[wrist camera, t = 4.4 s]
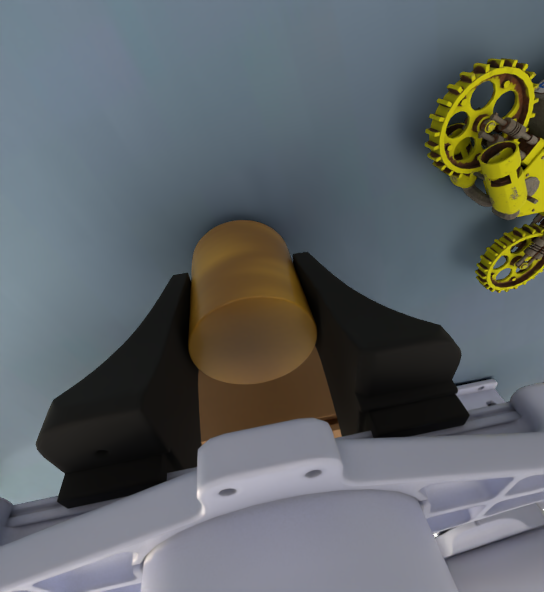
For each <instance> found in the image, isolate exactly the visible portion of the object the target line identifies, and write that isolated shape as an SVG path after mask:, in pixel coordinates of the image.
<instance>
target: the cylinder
mask: <svg viewBox="0 0 544 592" xmlns="http://www.w3.org/2000/svg"><path fill="white" fill-rule="evenodd" d="M316 340H317V327H316V323H315V320H314V318H313V315H312V312H311V310H310V307H309V304H308V302H307V299H306V296H305V294H304V291H303V288H302V286H301V283H300V280H299V277H298V275H297V272H296V269H295V267H294V264H293V261H292V259H291V256H290V253H289V251H288V248H287V245H286V243H285V241H284V240H283V238H282V237H281V236H280V235H279V234H278V233H277V232H276V231H275V230H273V229H272V228H270V227H269V226H267V225H265V224H262V223H259V222H256V221H250V220H236V221H230V222H226V223H223V224H220V225H218V226H216V227H214V228H213V229H211V230H210V231H208V232H207V233H206V234H205V235H204V236H203V237H202V238H201V239H200V241H199V242H198V244H197V245H196V248H195V250H194V253H193V257H192V273H191V294H190V314H189V335H188V350H189V354H190V357H191V359H192V361H193V363H194V364H195V365H196V367H197V368H198V369H199V370H200V371H202V372H203V373H204V374H206V375H207V376H209V377H211V378H213V379H216V380H219V381H222V382H226V383H231V384H257V383H263V382H267V381H271V380H274V379H277V378H279V377H282V376H284V375H286V374H288V373H290V372H291V371H293V370H294V369H296V368H297V367H299V366H300V365H301V364H302V363H303V362H304V361H305V360H306V359H307V358H308V357H309V355H310V354H311V352H312V351H313V349H314V346H315V344H316Z"/></svg>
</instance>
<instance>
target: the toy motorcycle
mask: <svg viewBox="0 0 544 592" xmlns="http://www.w3.org/2000/svg"><path fill="white" fill-rule="evenodd" d="M517 62H518V60H513V59H503V58H501V59H492V58H491V59H488V61H487V64H482V63H476V64H474V66H473V71H472V72H470V73H468V72H462V73H460V74H459V75H460V80H459V81H458V82H457V83H455V85H453V84H449V85H448V86H447V89H448V90H449V91H448V93H447V94H446V95H445V96H444V98H443V99H439V98H438V100H437V101H436V102H437V103H439V104H440V105H439V106H438V108H437V110H436V112H435V114H430V116H429V118H431V119H433V120H432V123H431V128H428V129H426V131H425V133H427V134H429V141H428V142H425V146H426V147H428V148H430V149H431V152H430V153H428V154H427V156H428V157H429V158H430V159H432V160H434V162H433V163H432V164H433V165H434V166H435V167H437V168H439V169H440V170H441V171H442V172H444V173H446V174H448V175H449V177H450V179H451V181H452V183H453V184H454V185H456V186H459V187H461V188H463V190H464V192H465V193H466V195H468V196H469V197H470V198H471V199H472V200H474V201H475V202H476V203H478V204H479V205H481V206H485V207H492V212H493V213H494V214H495V215H497V216H498V217H501V218H503V219H505V220H511V219H515V218H516V217H520V216H525V215H530V214H535V213H538V215H537V216H536V217H535V218H534V219H533V220H534V221H533V222H532V223H531V224H530V225H529V226H528V225H527V224H524V225H523V227H522V228H517V227H515V228H513V231H511V232H509V233H506V232H505V233H503V235H504V236H503V237H501V238H500V239H498V240H497V239H495V240H494V241H495V243H494V244H492V246H491V247H487V248H486V249H487V251H486V252H485V254H484V255H481V256H480V258H481V261H480V263H477V266H478V267H479V269H478V270H476V271H475V273H476V274H477V275H478V276H477V277H476V278H477V279H478V280H479V282H480V283H481V284H482V285H483V286H484V287H485V288H486V289H487V290H488V289H489V290H490V291H491V292H493V291H494V290H496V291H497V292H498V293H500V292H501V291H502V290H504V291H506V292H508V291H509V289H512V288H514V289H517V286H520V285H522V284H523V285H525V284H526V282H527V281H529V280H530V279H534V278H535V277H534V276H536V275H537V274H538V273H539V272H542V271H543V270H542V269H543V268H544V219H543V217H544V79H543V80H542V81H540V82H539V83H538V84H535V83H532V81H531V79H532V78H533V77H534V76H535V75H536V74H535V72H529V71H525V70H526V69H527V67H528V66H529V65H527V64H524V63H517ZM484 81H490V82H491V83H493V89H494V91H493V94H492V97H491V99H490V100H489V102H488V103H487V104H486V105H485V106H484V107H483V108H478V109H475V110H473V109H472V108H471V104H470V100H471V96H472V93H473V92H474V90H475V89H476V87H477V86H478V85H480V84H481V83H483V82H484ZM509 90H511V91H513V92H514V93H515V101H514V105H513V107H512V109H511V110H510V111H509V112H508V113H507V115H506V116H504V117H502V118H501V117H499V116H498V113H495V114H494V113H493V107H494V105H495V103H496V101H497V99H498V98H499V97H500V96H501V95H502V94H503V93H505V92H507V91H509ZM460 111H464V112H466V114H467V117H466V119H465V124H464V123H456V124H453V125H450V126H449V127H447V125H448V122H449V120H450V118H451V117H452V116H453V115H454V114H455V113H458V112H460ZM446 127H447V128H446ZM492 130H493V131H495V132H497V133H501V132H502V134H501V135H499V134H491V133H489V132H491V131H492ZM470 137H471V139H472V140H474V142H475V146H474V148H473V147H472V144H471V141H470ZM482 145H483V146H485V147H487V149H485V150H484V149H483V148H482ZM477 177H479V178H480V179H482V180H483V182H484V186H485V189H486V193H487V194H485V193H483V192H482V191H481V190H480V189H478V188H477V187H476V185H475V184H474V183H475V180H476V179H477ZM542 219H543V220H542ZM541 220H542V221H541ZM540 221H541V222H540ZM537 222H538V223H539V222H540V223H541V224H540V225H539V226H538V225H537V224H536V223H537ZM532 245H533V246H532ZM515 246H516V247H518V248H517V249H516V251H515V252H513V253H512V252H511V250H512V249H513V248H514V247H515ZM530 247H531V248H530ZM501 256H504V257H505V258H506V262H505V263H504V264H503V265H502V266H500V267H499V268H496V269H493V266H494V265H495V263H496V262H497V260H498V259H499V258H500V257H501ZM527 260H529V261H528V262H527V263H526V262H525V261H527ZM505 268H511V272H510V273H509V275H508V276H507V277H506V278H504V279H500V280H496V276H497V274H498V273H499V272H500V271H501V270H503V269H505ZM517 268H520V269H521V270H520V271H519V272H517V273H516V269H517Z"/></svg>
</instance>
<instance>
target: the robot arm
mask: <svg viewBox="0 0 544 592" xmlns="http://www.w3.org/2000/svg"><path fill="white" fill-rule="evenodd" d="M293 264H294V267H295V269H296V272H297V275H298V277H299V280H300V283H301V286H302V288H303V291H304V294H305V296H306V299H307V302H308V304H309V307H310V310H311V312H312V315H313V318H314V320H315V323H316V327H317V340H316V344H315V347H316V349H317V352H318V354H319V357H320V360H321V363H322V366H323V370H324V373H325V377H326V380H327V383H328V387H329V391H330V394H331V398H332V401H333V405H334V409H335V412H336V416H337V420H338V423H339V427H340V431H341V435H342V437H338V438H334V435H333V432H332V429H331V427H330V426H329V424H328V422H325V421H323V420H319V419H316V418H299V419H294V420H289V421H284V422H279V423H274V424H269V425H264V426H259V427H255V428H250V429H245V430H240V431H235V432H230V433H225V434H222V435H219V436H216V437H213V438H210V439H209V440H208V441H207V442H205V443H204V444H203V445H202V444H201V430H200V413H199V392H198V373H199V369H198V368H197V367H196V365H195V364H194V363H193V361H192V359H191V357H190V354H189V350H188V335H189V314H190V294H191V281H190V278H189V275H188V273H183V274H177V275H173V276H172V278H171V279H170V281H169V282H168V284H167V286H166V287H165V289H164V291H163V292H162V294H161V296H160V297H159V299H158V300H157V302H156V303H155V305H154V306H153V308H152V309H151V311H150V312H149V314H148V315H147V316H146V318H145V319H144V321H143V322H142V323H141V325H140V326H139V327H138V328H137V330H136V331H135V332H134V333H133V334H132V335H131V336H130V337H129V339H128V340H127V341H126V342H125V343H124V344H123V345H122V346H121V347H120V348H119V349H118V350H117V351H116V352H115V353H113V354H112V355H111V356H110V357H109V358H108V359H107V360H106V361H105V362H104V363H103V364H101V365H100V366H99V367H98V368H97V369H95V370H94V371H93V372H92V373H90V374H89V375H88V376H87V377H85V378H84V379H83V380H81V381H80V382H79V383H77V384H76V385H74V386H73V387H71V388H70V389H69V390H67V391H66V392H64V393H63V394H61V395H60V396H58V397H57V398H55V399H54V400H53V402H52V404H51V406H50V408H49V410H48V413H47V415H46V418H45V420H44V423H43V425H42V428H41V431H40V433H39V436H38V439H37V441H36V447H37V450H38V451H39V452H40V454H41V455H42V456H43V457H44V458H46V459H47V460H48V461H49V462H51V463H52V464H53V465H55V466H56V467H57V468H59V469H60V470H61V471H62V472H64V473H65V476H64V479H63V483H62V486H61V489H60V492H59V496H55V497H50V498H46V499H41V500H36V501H31V502H26V503H22V504H17V505H13V504H12V503H11V502H9V501H8V500H6V499H4V498H1V497H0V592H544V510H543V509H544V382H542V383H537V384H532V385H527V386H524V387H522V388H520V389H518V390H517V391H516V392H515V393H514V394H513V395H512V397H511V399H510V402H505V401H504V400H503V399H502V397H501V396H500V395H499V394H498V392H497V391H496V390H495V387H496V386H497V382H496V381H495V379H489V380H484V381H479V382H474V383H469V384H465V385H460V386H456V385H455V384H454V382H453V381H452V378H453V376H454V374H455V372H456V370H457V367H458V365H459V363H460V359H461V350H460V348H459V347H458V346H457V344H456V343H455V342H454V340H453V339H452V338H451V336H450V335H449V334H448V333H447V332H446V331H445V330H444V329H443V328H442V326H441V325H438V324H434V323H431V322H427V321H424V320H420V319H417V318H414V317H411V316H408V315H405V314H402V313H400V312H397V311H395V310H392V309H390V308H387V307H385V306H383V305H381V304H379V303H377V302H375V301H373V300H371V299H369V298H367V297H365V296H364V295H362V294H360V293H358V292H357V291H355V290H353V289H352V288H350V287H349V286H347V285H346V284H345V283H343V282H342V281H341V280H339V279H338V278H337V277H335V276H334V275H333V274H332V273H331V272H329V271H328V270H327V269H326V268H325V267H323V266H322V265H321V264H320V263H319V262H318V261H317V260H316V259H315V258H314V257H313V256H311V255H310V254H309V253H308V252H303V253H298V254H293ZM434 533H437V535H438V536H437V537H435V538H434V535H433V534H434Z"/></svg>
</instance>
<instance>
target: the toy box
mask: <svg viewBox="0 0 544 592" xmlns="http://www.w3.org/2000/svg"><path fill="white" fill-rule="evenodd" d="M198 392H199V413H200V430H201V444H202V445H203V444H204V443H205V442H207V441H208V440H209V439H210V438H213V437H216V436H219V435H222V434H225V433H230V432H235V431H240V430H245V429H250V428H255V427H259V426H264V425H269V424H274V423H279V422H284V421H289V420H294V419H299V418H316V419H319V420H323V421H325V422H328V424H329V426H330V427H331V429H332V432H333V435H334V438H338V437H342V435H341V431H340V427H339V423H338V420H337V416H336V412H335V409H334V405H333V401H332V398H331V394H330V391H329V387H328V383H327V380H326V377H325V373H324V370H323V366H322V363H321V360H320V357H319V354H318V352H317V349H316V347H315V346H314V349H313V351H312V352H311V354H310V355H309V357H308V358H307V359H306V360H305V361H304V362H303V363H302V364H301V365H300V366H299V367H297V368H296V369H294V370H293V371H291V372H290V373H288V374H286V375H284V376H282V377H279V378H277V379H274V380H271V381H267V382H263V383H257V384H231V383H226V382H222V381H219V380H216V379H213V378H211V377H209V376H207V375H206V374H204V373H203V372H202V371H200V370H199V373H198Z"/></svg>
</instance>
